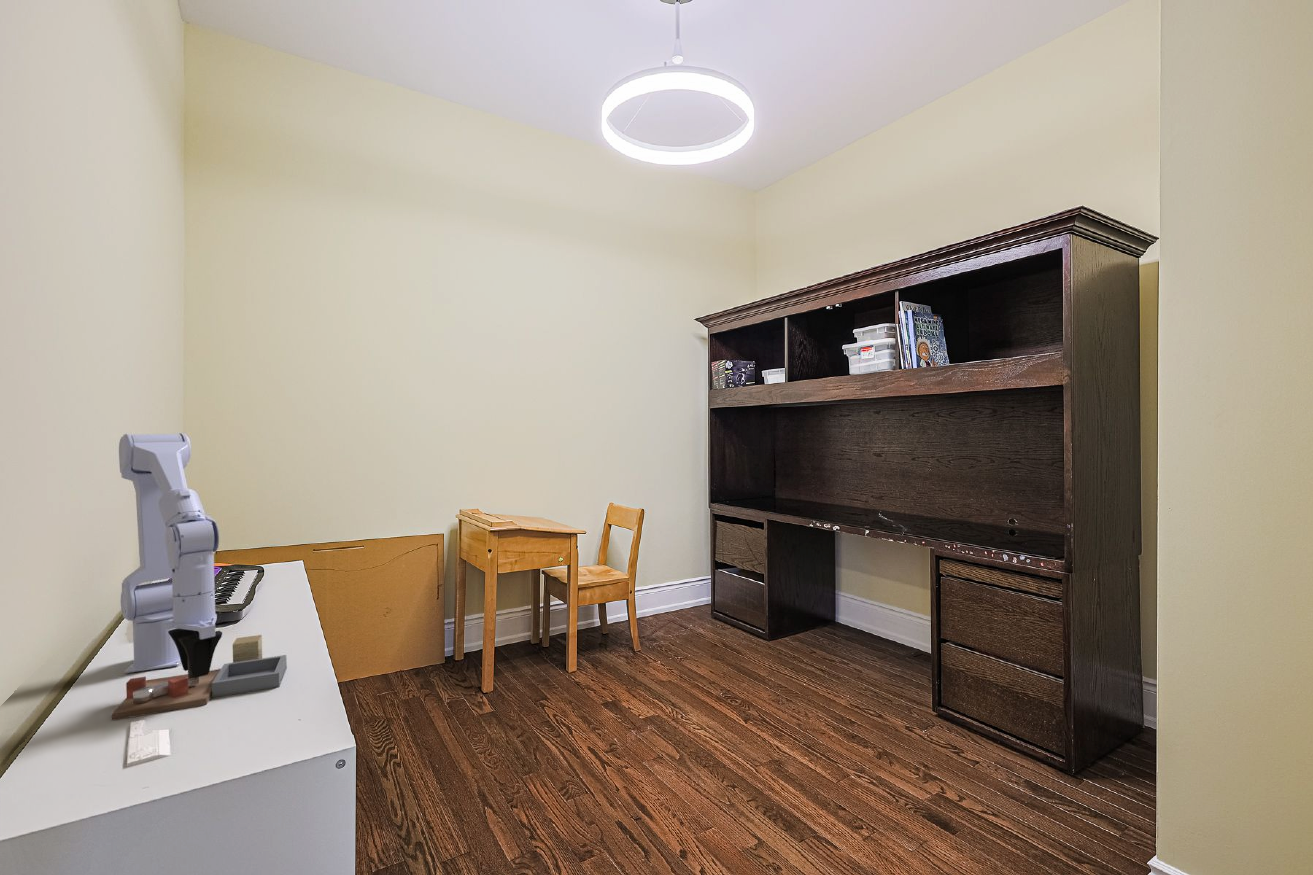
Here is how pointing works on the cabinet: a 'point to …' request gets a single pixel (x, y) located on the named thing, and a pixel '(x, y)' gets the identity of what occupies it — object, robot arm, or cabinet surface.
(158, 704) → the crank base
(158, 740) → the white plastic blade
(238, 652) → the stop block
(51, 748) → the cabinet surface
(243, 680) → the tray
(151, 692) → the crank
